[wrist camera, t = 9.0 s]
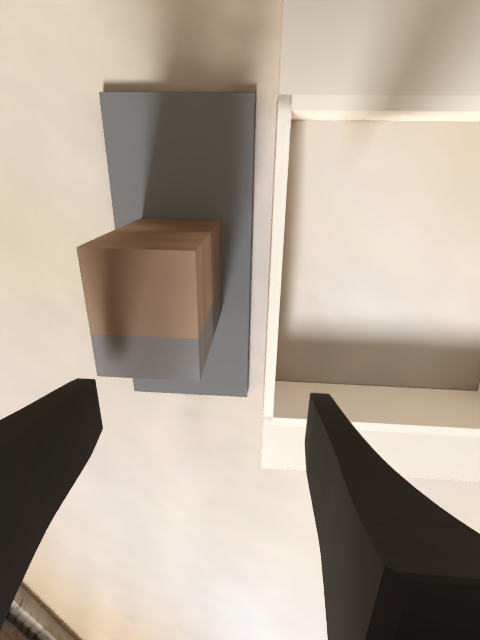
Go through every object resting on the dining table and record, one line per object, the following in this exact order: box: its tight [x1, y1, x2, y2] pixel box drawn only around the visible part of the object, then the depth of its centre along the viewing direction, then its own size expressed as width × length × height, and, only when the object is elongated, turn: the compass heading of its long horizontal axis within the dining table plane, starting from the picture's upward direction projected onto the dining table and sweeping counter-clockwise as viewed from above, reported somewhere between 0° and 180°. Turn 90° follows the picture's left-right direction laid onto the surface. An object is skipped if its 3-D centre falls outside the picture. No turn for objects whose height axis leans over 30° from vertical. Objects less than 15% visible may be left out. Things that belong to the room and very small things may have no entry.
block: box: [77, 218, 221, 381], centre depth 16 cm, size 4×5×7 cm
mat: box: [99, 92, 255, 397], centre depth 20 cm, size 7×16×1 cm, turn 179°
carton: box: [261, 0, 480, 482], centre depth 18 cm, size 13×21×4 cm, turn 179°
